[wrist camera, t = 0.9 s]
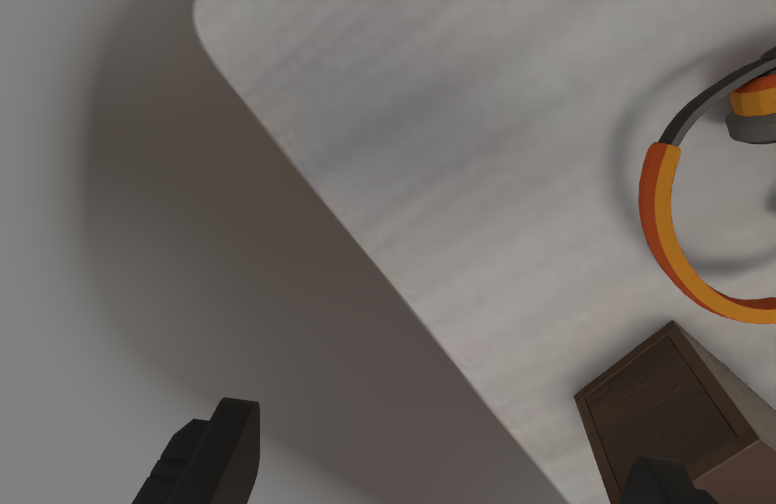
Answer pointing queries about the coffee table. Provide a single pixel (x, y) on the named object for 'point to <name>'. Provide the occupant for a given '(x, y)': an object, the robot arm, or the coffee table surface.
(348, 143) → the coffee table surface
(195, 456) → the robot arm
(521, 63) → the coffee table surface
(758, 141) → the headphones
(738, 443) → the cabinet
